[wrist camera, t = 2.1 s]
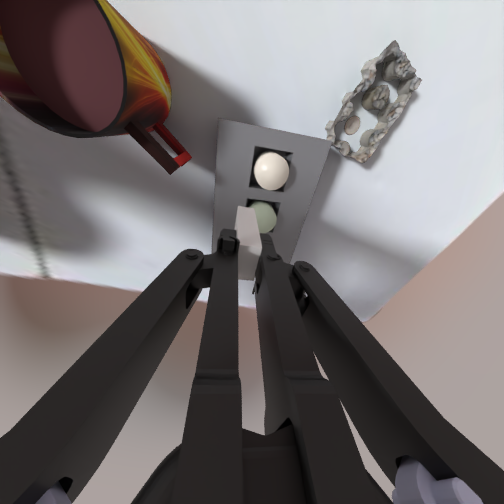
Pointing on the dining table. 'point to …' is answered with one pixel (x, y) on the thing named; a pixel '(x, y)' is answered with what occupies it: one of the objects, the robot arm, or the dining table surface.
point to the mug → (85, 73)
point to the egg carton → (376, 101)
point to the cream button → (270, 170)
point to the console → (247, 188)
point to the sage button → (264, 215)
